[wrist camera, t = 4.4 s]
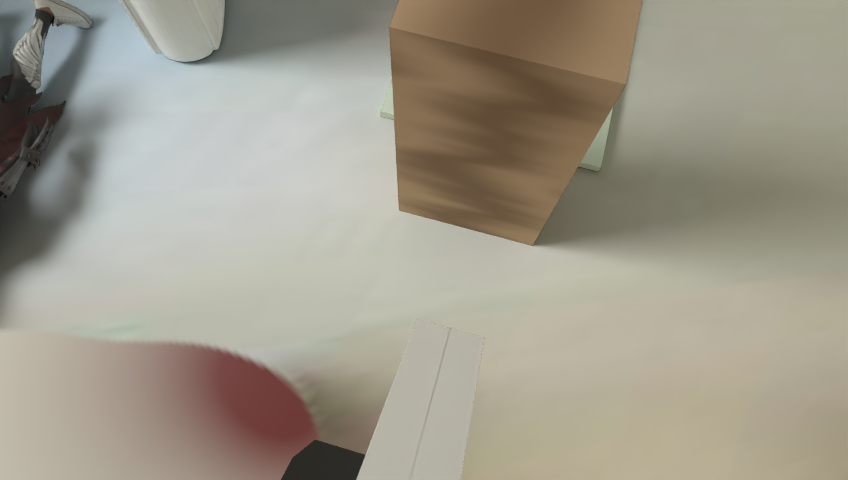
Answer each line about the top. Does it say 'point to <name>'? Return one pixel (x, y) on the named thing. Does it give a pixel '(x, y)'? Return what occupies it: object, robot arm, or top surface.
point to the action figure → (29, 94)
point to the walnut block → (502, 104)
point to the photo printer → (179, 26)
